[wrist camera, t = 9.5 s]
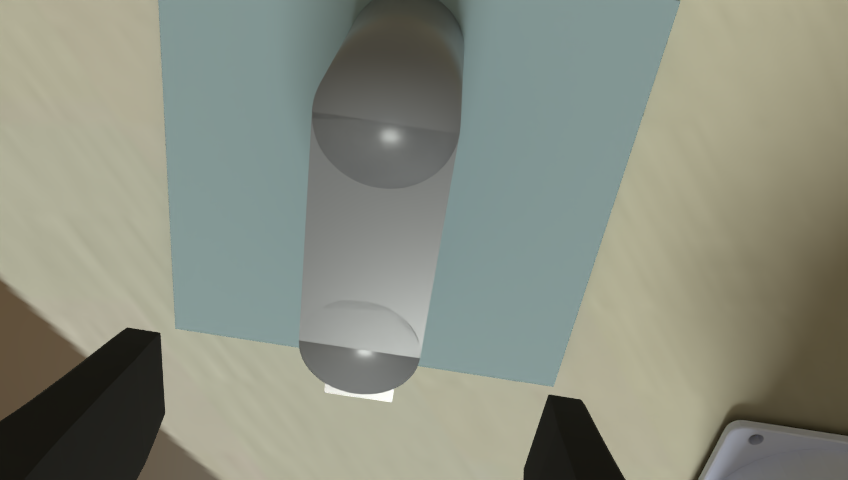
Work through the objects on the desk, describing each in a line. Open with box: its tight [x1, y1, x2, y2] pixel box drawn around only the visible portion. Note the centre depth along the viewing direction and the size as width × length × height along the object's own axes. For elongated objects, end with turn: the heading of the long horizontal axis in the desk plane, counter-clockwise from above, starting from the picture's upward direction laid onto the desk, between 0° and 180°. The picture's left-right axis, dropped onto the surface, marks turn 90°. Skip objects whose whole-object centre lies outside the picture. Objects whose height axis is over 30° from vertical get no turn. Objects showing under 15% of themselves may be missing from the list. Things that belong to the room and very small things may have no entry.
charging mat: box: [158, 0, 680, 387], centre depth 21 cm, size 13×13×1 cm
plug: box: [299, 0, 464, 402], centre depth 18 cm, size 3×11×5 cm, turn 172°
